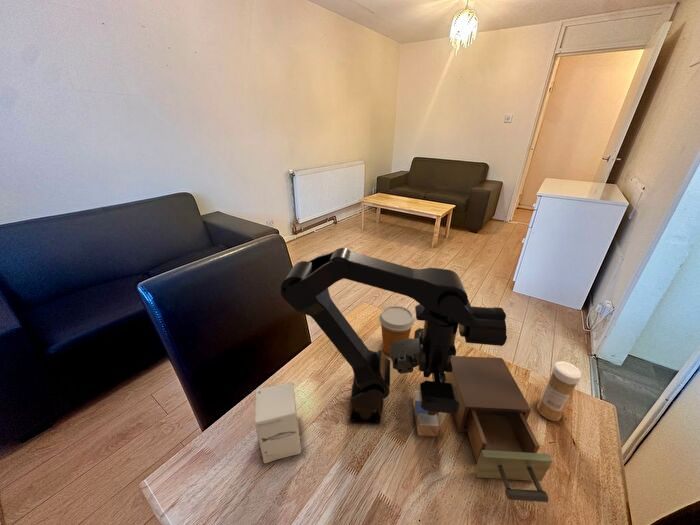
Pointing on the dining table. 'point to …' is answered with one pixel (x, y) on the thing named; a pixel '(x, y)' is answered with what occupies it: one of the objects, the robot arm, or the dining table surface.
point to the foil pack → (424, 419)
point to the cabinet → (484, 387)
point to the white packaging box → (277, 422)
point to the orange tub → (395, 325)
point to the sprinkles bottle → (558, 390)
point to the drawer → (507, 451)
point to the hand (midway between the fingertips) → (428, 394)
